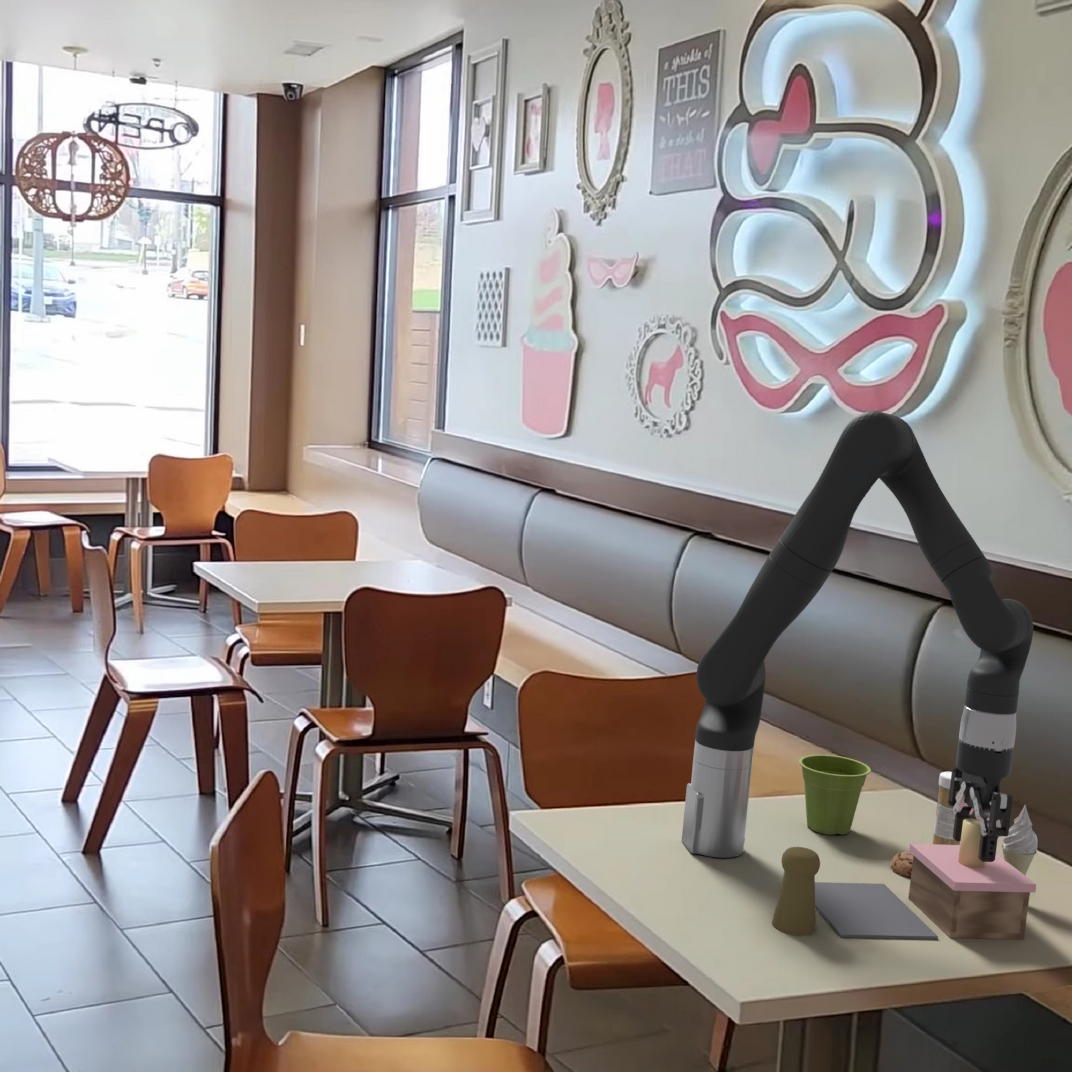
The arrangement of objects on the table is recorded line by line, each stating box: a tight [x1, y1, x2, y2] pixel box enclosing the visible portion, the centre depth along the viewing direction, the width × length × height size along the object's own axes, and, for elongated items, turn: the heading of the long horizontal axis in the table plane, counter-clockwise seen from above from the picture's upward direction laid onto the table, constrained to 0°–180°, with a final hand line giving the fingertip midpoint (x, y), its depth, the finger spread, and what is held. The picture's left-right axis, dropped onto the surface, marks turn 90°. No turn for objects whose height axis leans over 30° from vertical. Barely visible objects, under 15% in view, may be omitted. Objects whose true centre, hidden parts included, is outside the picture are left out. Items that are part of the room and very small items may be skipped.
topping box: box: [908, 856, 1031, 940], centre depth 199 cm, size 11×14×7 cm
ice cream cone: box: [1000, 804, 1039, 876], centre depth 207 cm, size 5×5×15 cm
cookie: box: [890, 850, 914, 878], centre depth 217 cm, size 10×11×3 cm
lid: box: [908, 818, 1037, 893], centre depth 198 cm, size 12×15×8 cm
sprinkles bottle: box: [932, 771, 961, 845], centre depth 225 cm, size 5×5×14 cm
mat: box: [815, 881, 939, 940], centre depth 199 cm, size 14×19×1 cm
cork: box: [771, 846, 821, 936], centre depth 191 cm, size 6×6×11 cm
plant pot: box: [798, 754, 872, 836], centre depth 234 cm, size 12×12×11 cm
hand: (973, 850), depth 198 cm, fingers open, 7 cm apart
